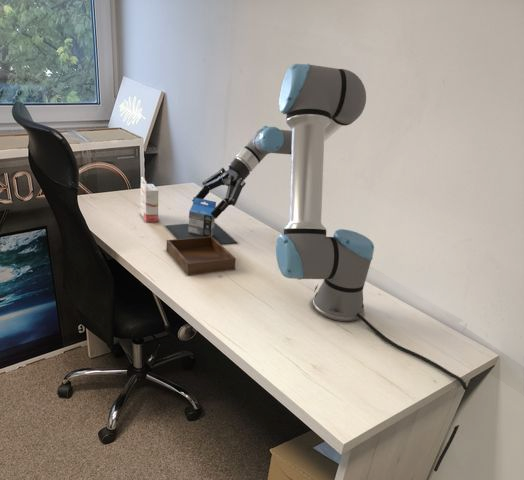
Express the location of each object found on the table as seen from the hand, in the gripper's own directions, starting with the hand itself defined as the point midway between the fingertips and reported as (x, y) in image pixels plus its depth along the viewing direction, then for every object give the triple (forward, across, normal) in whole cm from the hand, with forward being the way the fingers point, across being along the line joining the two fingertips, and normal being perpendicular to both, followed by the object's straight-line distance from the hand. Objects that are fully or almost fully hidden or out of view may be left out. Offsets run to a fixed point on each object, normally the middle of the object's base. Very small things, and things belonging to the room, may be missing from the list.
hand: (203, 209), depth 172 cm
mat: (+7, 0, -6) cm, 9 cm away
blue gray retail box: (+7, 0, -6) cm, 9 cm away
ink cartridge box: (+15, +20, +1) cm, 25 cm away
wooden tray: (+15, -19, +1) cm, 24 cm away
